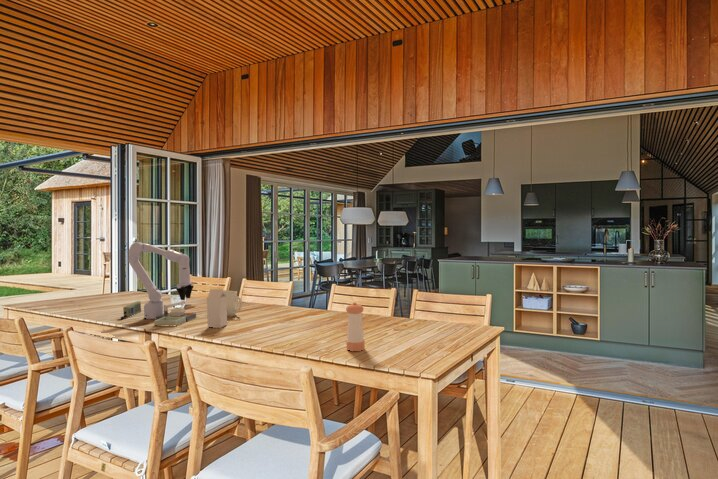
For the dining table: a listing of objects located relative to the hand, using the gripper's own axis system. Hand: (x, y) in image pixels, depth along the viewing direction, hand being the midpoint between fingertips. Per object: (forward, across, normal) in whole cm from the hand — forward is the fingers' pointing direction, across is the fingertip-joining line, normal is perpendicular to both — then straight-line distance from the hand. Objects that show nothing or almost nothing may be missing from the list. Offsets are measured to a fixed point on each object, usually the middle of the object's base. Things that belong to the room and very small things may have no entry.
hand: (185, 299), depth 266 cm
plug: (+10, -11, -1) cm, 15 cm away
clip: (+7, -4, +4) cm, 9 cm away
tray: (+9, -22, -3) cm, 25 cm away
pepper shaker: (+10, -66, -107) cm, 126 cm away
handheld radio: (+10, -1, +33) cm, 35 cm away
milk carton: (+10, -27, -31) cm, 42 cm away
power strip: (+9, -11, 0) cm, 14 cm away
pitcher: (+10, +1, -26) cm, 28 cm away
